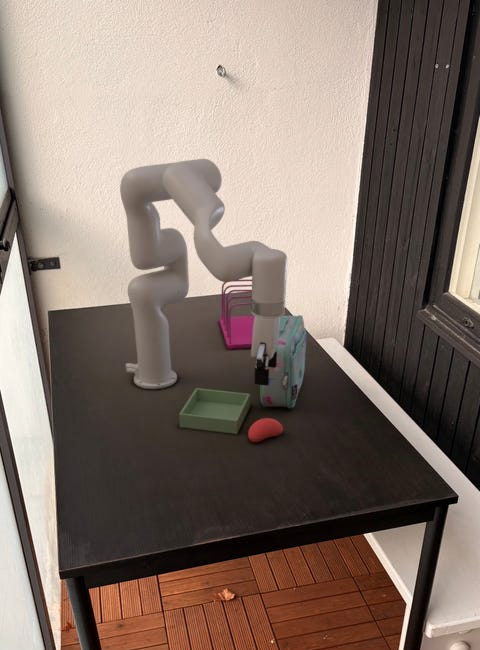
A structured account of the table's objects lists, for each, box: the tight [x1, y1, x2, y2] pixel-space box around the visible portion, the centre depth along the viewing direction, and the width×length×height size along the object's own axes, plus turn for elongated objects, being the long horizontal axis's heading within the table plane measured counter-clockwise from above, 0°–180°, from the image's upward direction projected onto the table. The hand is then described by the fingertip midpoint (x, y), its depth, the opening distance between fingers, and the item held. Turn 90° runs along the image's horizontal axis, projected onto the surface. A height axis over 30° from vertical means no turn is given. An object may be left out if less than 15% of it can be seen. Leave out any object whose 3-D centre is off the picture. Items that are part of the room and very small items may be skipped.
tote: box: [178, 387, 251, 435], centre depth 170 cm, size 15×15×4 cm
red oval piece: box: [247, 417, 284, 443], centre depth 161 cm, size 5×9×6 cm, turn 110°
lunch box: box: [259, 314, 307, 409], centre depth 177 cm, size 27×10×21 cm, turn 168°
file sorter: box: [218, 278, 255, 350], centre depth 217 cm, size 17×25×16 cm
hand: (265, 375), depth 153 cm, fingers open, 9 cm apart
